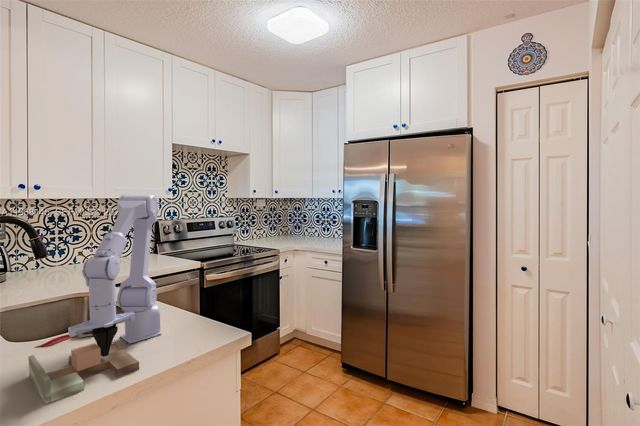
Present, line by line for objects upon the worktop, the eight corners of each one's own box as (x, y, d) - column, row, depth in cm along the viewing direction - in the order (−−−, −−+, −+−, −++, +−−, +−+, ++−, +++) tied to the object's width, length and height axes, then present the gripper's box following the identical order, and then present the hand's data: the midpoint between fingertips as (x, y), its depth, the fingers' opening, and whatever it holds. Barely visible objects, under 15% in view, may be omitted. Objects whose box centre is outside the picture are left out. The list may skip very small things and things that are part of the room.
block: (95, 357, 89) (94, 342, 89) (101, 363, 86) (100, 347, 86) (71, 365, 85) (71, 349, 85) (77, 371, 82) (76, 355, 82)
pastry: (87, 326, 114) (86, 315, 114) (109, 325, 116) (109, 314, 116) (73, 338, 105) (73, 326, 105) (98, 337, 107) (98, 325, 106)
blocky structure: (115, 349, 98) (114, 332, 98) (139, 369, 87) (138, 350, 87) (29, 376, 84) (28, 356, 83) (45, 403, 73) (44, 381, 73)
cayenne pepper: (32, 352, 97) (32, 345, 97) (31, 346, 101) (31, 340, 101) (83, 340, 105) (83, 334, 105) (81, 335, 109) (81, 329, 109)
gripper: (73, 314, 80) (75, 371, 81) (139, 299, 91) (140, 349, 92) (65, 307, 84) (67, 361, 85) (128, 294, 95) (129, 342, 96)
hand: (104, 354), depth 89 cm, fingers closed
